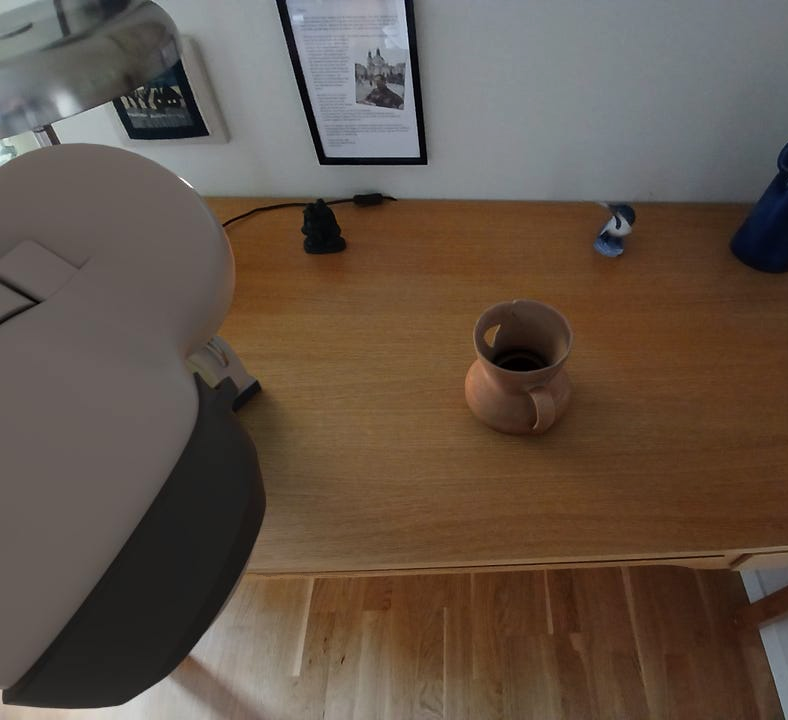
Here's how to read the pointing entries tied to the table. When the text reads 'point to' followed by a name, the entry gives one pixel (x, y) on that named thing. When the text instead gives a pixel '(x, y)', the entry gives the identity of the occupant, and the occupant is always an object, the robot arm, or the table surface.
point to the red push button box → (246, 393)
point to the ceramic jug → (520, 368)
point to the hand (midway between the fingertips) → (202, 378)
